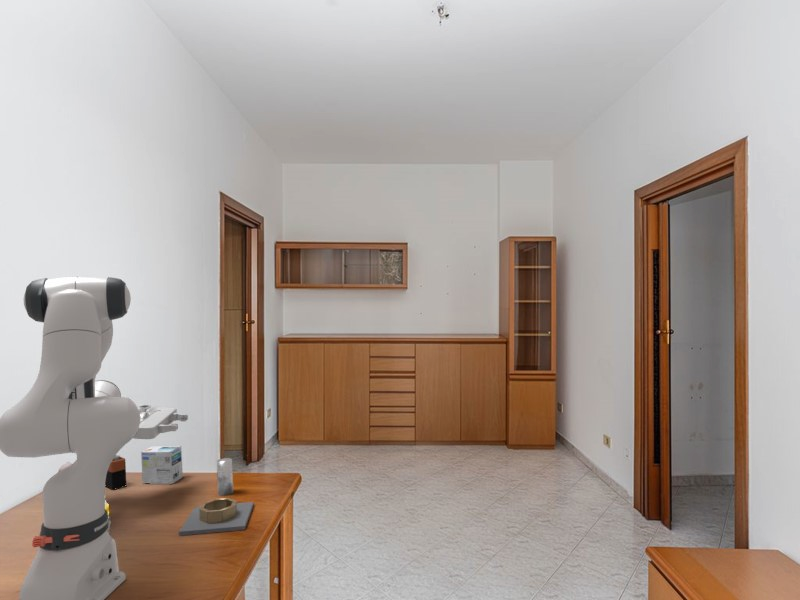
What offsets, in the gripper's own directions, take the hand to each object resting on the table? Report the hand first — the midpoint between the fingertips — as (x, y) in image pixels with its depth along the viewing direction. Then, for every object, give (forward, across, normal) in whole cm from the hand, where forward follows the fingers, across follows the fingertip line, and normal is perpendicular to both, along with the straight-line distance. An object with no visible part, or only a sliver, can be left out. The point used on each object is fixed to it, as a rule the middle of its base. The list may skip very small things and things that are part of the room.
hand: (182, 422), depth 159 cm
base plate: (+16, -20, +20) cm, 33 cm away
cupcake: (-37, +7, +25) cm, 45 cm away
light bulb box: (-11, +14, +24) cm, 30 cm away
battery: (-25, +12, +25) cm, 37 cm away
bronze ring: (+16, -20, +19) cm, 32 cm away
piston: (+13, 0, +22) cm, 25 cm away
